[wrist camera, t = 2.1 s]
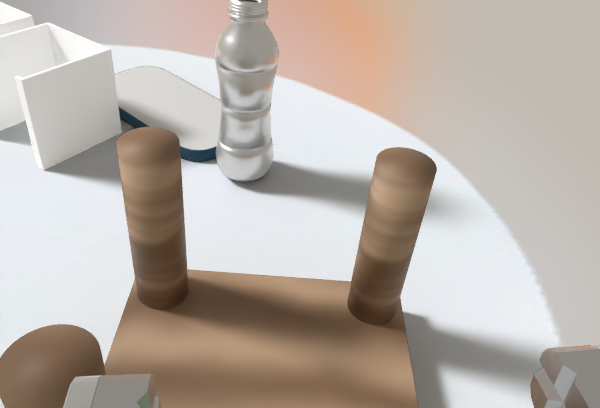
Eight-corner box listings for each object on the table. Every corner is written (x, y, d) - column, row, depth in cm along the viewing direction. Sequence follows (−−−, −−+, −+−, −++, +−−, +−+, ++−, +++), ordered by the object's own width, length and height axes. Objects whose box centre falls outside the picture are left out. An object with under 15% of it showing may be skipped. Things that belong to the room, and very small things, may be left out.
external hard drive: (265, 138, 70) (266, 124, 69) (194, 172, 63) (194, 157, 62) (153, 74, 82) (152, 61, 81) (83, 97, 75) (80, 83, 74)
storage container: (122, 133, 68) (110, 49, 61) (44, 171, 61) (21, 80, 54) (0, 71, 78) (-21, -7, 71) (-79, 97, 71) (-111, 12, 64)
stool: (434, 601, 32) (538, 452, 21) (47, 581, 31) (-45, 415, 20) (391, 308, 49) (436, 146, 38) (142, 290, 48) (120, 120, 38)
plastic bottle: (280, 163, 65) (292, -8, 53) (259, 195, 60) (268, 13, 48) (230, 151, 67) (231, -20, 54) (205, 181, 61) (201, 0, 49)
